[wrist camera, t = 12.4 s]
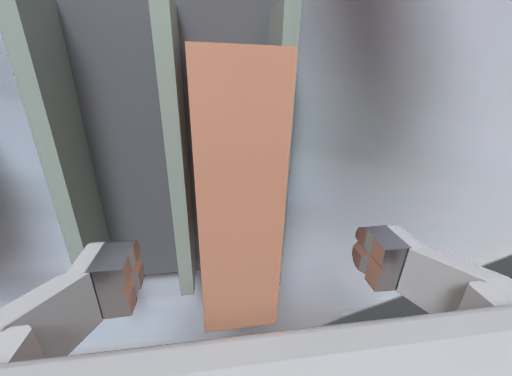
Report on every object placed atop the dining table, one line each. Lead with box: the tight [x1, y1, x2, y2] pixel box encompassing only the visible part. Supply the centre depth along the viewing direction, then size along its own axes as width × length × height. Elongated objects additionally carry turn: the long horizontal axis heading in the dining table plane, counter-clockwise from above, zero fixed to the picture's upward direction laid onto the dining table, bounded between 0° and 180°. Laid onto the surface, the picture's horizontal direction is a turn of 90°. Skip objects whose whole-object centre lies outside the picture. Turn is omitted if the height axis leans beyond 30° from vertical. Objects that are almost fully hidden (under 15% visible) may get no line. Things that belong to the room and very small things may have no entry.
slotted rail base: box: [0, 0, 303, 296], centre depth 19 cm, size 17×22×5 cm
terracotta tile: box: [185, 41, 298, 332], centre depth 17 cm, size 4×14×10 cm, turn 178°
